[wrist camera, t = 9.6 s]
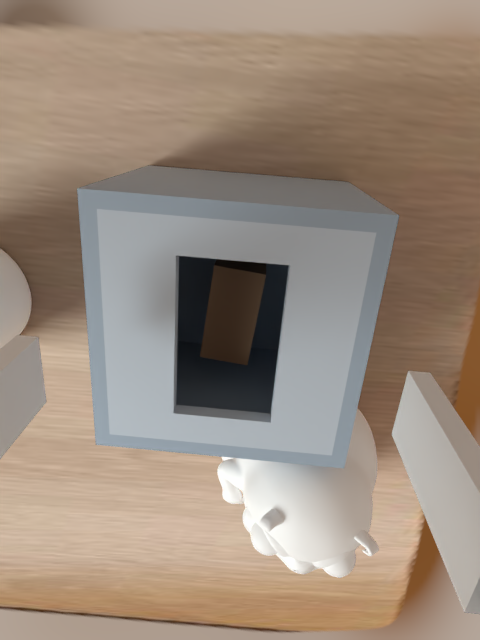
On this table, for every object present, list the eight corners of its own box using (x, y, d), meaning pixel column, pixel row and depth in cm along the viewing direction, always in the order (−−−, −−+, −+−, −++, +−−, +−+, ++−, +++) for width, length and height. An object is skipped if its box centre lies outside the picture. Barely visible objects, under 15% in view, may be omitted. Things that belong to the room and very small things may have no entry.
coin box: (150, 342, 31) (95, 444, 21) (149, 165, 27) (77, 188, 16) (319, 358, 31) (344, 468, 21) (348, 181, 26) (399, 215, 16)
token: (214, 306, 29) (199, 356, 23) (226, 232, 27) (214, 265, 21) (251, 313, 29) (247, 365, 23) (266, 240, 27) (266, 274, 21)
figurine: (268, 331, 31) (270, 445, 20) (390, 385, 32) (456, 521, 21) (212, 434, 34) (187, 578, 23) (323, 479, 36) (348, 636, 25)
